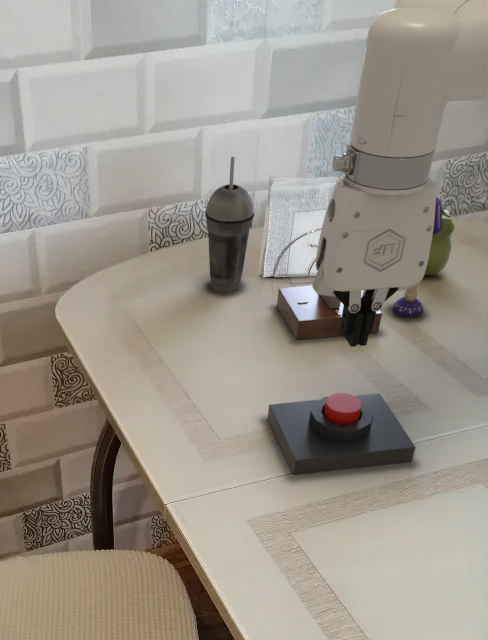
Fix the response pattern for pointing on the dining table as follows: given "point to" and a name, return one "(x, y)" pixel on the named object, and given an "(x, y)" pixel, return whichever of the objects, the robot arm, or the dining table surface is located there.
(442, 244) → the pear
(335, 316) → the brown wooden base
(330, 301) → the grey upright block
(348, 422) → the power button
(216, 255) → the beverage cup
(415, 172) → the robot arm
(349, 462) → the device
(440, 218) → the toy lamp
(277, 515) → the dining table surface
